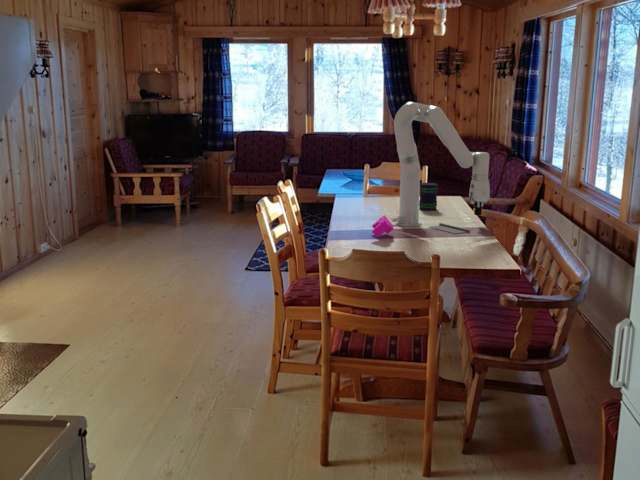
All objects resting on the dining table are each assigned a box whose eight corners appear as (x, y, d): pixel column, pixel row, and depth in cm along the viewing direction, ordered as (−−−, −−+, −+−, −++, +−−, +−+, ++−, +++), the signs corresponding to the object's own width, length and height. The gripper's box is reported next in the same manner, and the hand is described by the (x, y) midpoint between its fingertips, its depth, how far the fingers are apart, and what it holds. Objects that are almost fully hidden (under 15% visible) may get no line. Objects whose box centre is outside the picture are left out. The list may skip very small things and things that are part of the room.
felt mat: (455, 234, 297) (455, 233, 297) (429, 227, 312) (429, 226, 312) (466, 232, 301) (466, 231, 301) (439, 226, 316) (439, 225, 316)
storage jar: (423, 212, 355) (424, 185, 352) (416, 209, 364) (417, 182, 361) (439, 211, 358) (441, 184, 354) (432, 208, 367) (433, 182, 364)
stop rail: (468, 232, 301) (468, 230, 300) (439, 225, 317) (439, 223, 317) (470, 232, 301) (470, 229, 301) (440, 225, 318) (440, 223, 317)
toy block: (392, 224, 302) (380, 235, 303) (384, 215, 301) (372, 225, 302) (393, 231, 287) (381, 242, 289) (384, 220, 286) (371, 231, 288)
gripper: (474, 179, 305) (472, 217, 309) (496, 177, 313) (494, 214, 317) (463, 177, 311) (461, 215, 315) (485, 176, 319) (482, 212, 323)
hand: (477, 214), depth 316 cm, fingers closed
